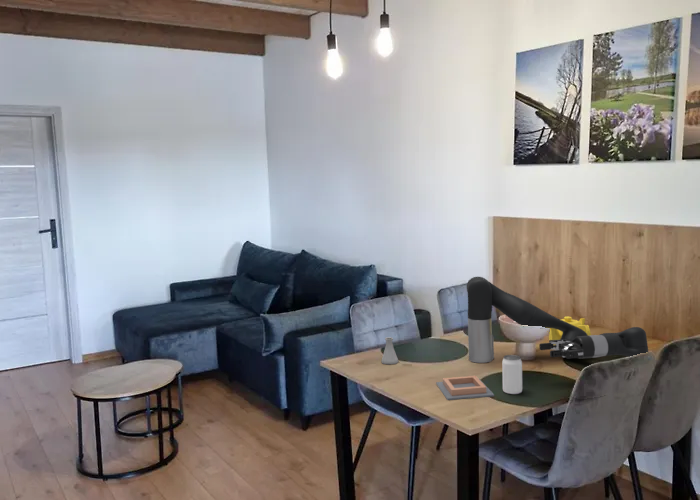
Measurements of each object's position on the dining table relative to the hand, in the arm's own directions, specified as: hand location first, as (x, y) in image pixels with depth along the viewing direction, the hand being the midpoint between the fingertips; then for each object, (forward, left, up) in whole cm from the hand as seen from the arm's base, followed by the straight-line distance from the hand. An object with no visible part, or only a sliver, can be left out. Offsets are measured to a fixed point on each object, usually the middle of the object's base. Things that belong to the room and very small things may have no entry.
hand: (544, 350), depth 206 cm
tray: (+21, -18, -14) cm, 31 cm away
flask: (+20, -60, -14) cm, 65 cm away
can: (+10, -6, -14) cm, 18 cm away
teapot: (-50, -26, -14) cm, 58 cm away
